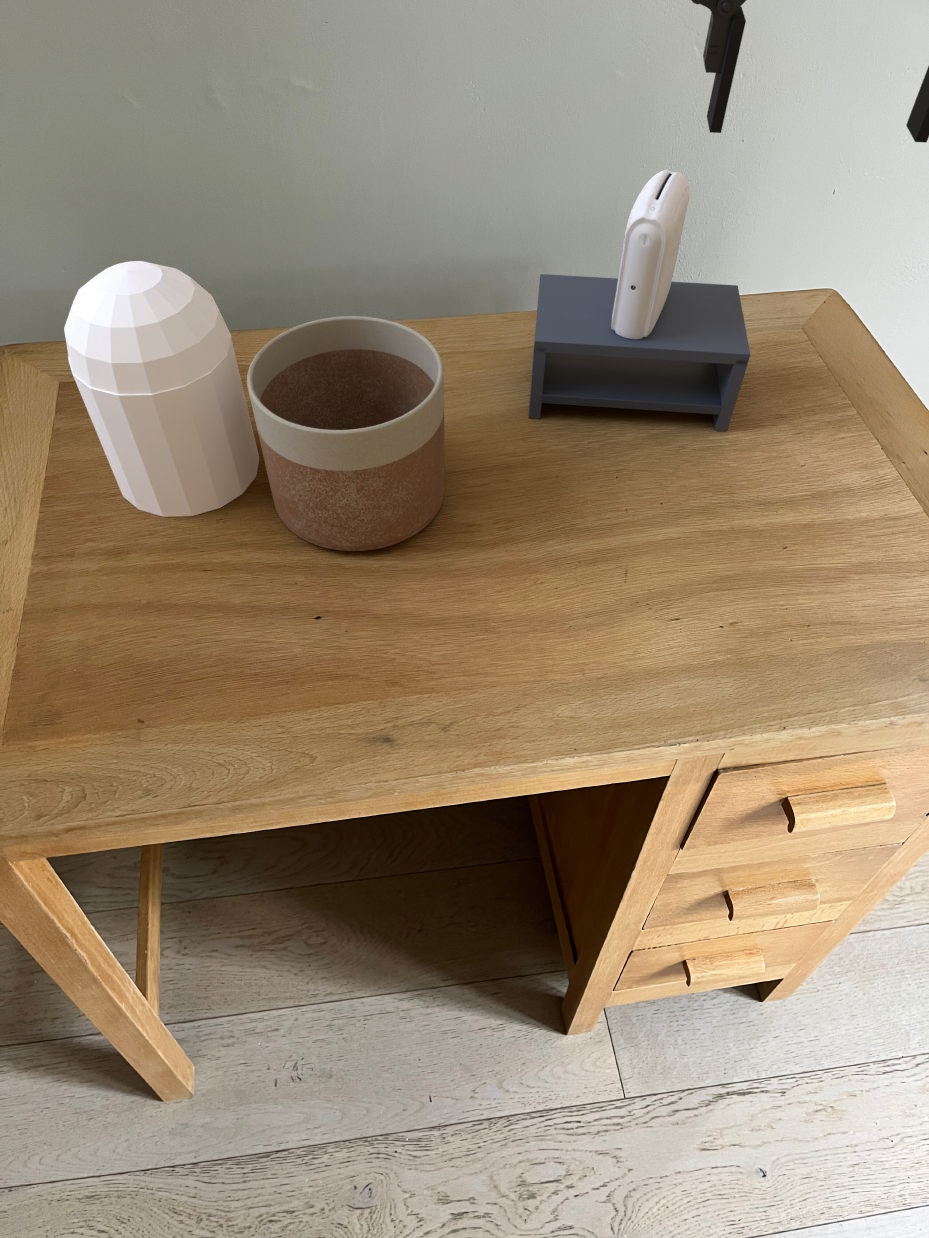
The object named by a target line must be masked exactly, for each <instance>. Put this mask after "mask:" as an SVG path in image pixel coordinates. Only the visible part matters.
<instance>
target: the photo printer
mask: <svg viewBox="0 0 929 1238" xmlns="http://www.w3.org/2000/svg"><path fill="white" fill-rule="evenodd" d="M689 200H690V185H689V182H688V180H687V179H686V177H685V175H684V174H683V173H682V172H680V171H671V170H669V169H664V170H661V171H659V172H657V173H655V174H654V175H653V176H652V177H651V178H650V179H649V180H648V181H647V182H646V183H645V185H643V188H642V189H641V191H640V192H639V194H638V196H637V198H636V199H635V202H634V203H633V206H632V208H631V210H630V213H629V216H628V219H627V223H626V228H625V233H624V237H623V238H624V239H623V245H622V251H621V258H620V265H619V272H618V277H617V278H618V283H617V290H616V296H615V302H614V308H613V314H612V323H611V328H612V330H615V333H616V334H618V335H619V336H622V337H624V338H628V339H642V338H643V337H647V336H648V335H649V334H650V333H651V331H652V329H653V328H654V326H655V324H656V322H657V320H658V317H659V315H660V313H661V311H662V308H663V306H664V304H665V301H666V298H667V295H668V293H669V290H670V286H671V282H673V277H674V272H675V269H676V263H677V258H678V255H679V249H680V244H681V241H682V234H683V229H684V225H685V221H686V216H687V211H688V205H689Z"/></svg>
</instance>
